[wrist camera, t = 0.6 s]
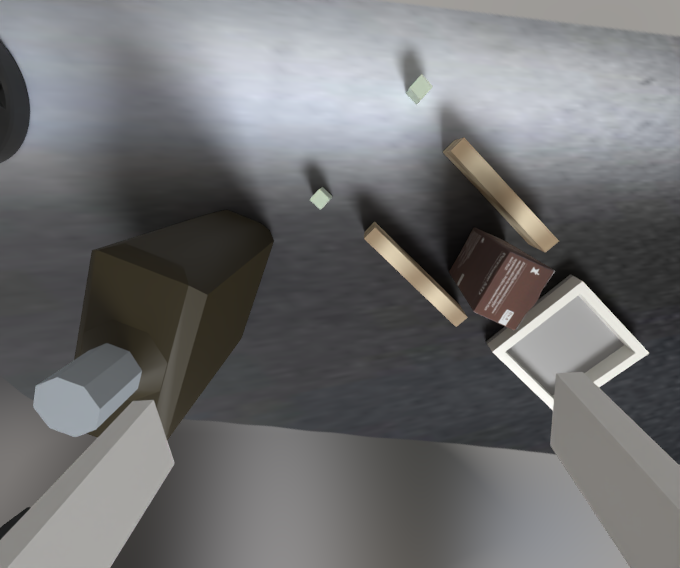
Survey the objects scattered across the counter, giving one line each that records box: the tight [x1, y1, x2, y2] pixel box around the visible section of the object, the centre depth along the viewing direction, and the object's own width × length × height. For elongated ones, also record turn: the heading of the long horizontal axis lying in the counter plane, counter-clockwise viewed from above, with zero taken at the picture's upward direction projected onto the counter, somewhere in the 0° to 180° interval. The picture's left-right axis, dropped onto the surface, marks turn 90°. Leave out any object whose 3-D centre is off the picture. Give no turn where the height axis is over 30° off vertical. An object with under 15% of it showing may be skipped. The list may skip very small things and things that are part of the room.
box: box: [449, 227, 555, 330], centre depth 35 cm, size 6×4×12 cm
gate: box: [310, 74, 433, 210], centre depth 37 cm, size 2×16×3 cm, turn 137°
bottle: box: [33, 210, 274, 440], centre depth 32 cm, size 8×16×25 cm, turn 159°
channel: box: [364, 138, 559, 327], centre depth 39 cm, size 14×13×4 cm
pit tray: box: [486, 274, 649, 410], centre depth 42 cm, size 12×12×2 cm
